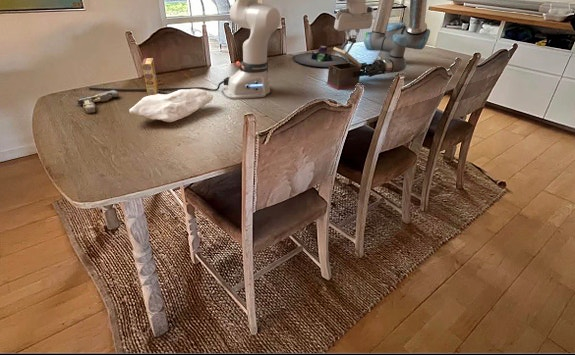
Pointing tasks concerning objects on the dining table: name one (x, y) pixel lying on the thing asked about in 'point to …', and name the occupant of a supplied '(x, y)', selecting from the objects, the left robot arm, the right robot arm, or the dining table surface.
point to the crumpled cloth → (171, 104)
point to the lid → (345, 54)
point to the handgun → (95, 100)
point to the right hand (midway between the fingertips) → (348, 71)
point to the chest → (343, 75)
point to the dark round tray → (319, 58)
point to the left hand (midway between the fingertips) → (351, 39)
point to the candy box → (150, 76)
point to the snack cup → (366, 36)
